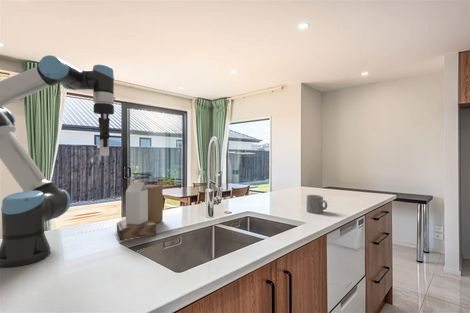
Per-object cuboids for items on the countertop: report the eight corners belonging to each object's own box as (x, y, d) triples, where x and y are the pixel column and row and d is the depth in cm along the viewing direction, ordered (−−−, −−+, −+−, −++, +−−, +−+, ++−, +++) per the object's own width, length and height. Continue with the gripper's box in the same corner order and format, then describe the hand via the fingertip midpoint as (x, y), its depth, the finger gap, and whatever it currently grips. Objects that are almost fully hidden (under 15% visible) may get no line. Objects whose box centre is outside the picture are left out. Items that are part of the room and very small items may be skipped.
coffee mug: (303, 211, 166) (303, 195, 166) (314, 209, 171) (314, 194, 171) (319, 215, 155) (319, 198, 155) (330, 213, 160) (330, 197, 160)
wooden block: (136, 223, 136) (135, 186, 136) (148, 219, 146) (148, 184, 145) (151, 225, 133) (150, 187, 132) (163, 221, 142) (163, 185, 142)
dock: (119, 240, 111) (119, 229, 111) (116, 231, 123) (116, 221, 123) (155, 234, 118) (155, 224, 118) (149, 227, 130) (149, 217, 130)
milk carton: (139, 225, 117) (139, 183, 116) (125, 224, 118) (125, 183, 118) (148, 221, 124) (147, 181, 123) (134, 220, 125) (134, 181, 125)
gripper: (116, 99, 97) (117, 155, 97) (111, 109, 119) (111, 155, 119) (94, 97, 93) (94, 156, 94) (92, 107, 115) (93, 155, 115)
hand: (104, 155), depth 106 cm, fingers open, 13 cm apart
